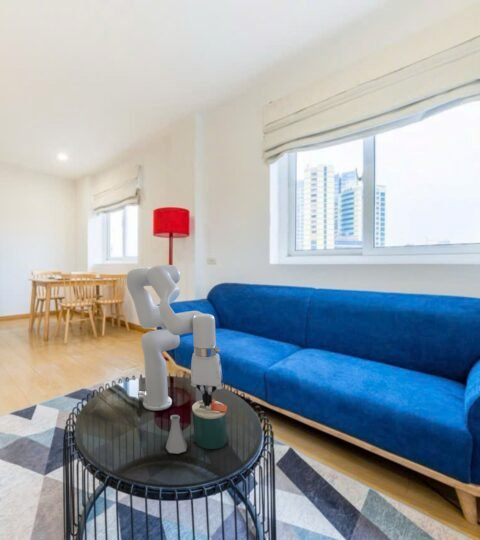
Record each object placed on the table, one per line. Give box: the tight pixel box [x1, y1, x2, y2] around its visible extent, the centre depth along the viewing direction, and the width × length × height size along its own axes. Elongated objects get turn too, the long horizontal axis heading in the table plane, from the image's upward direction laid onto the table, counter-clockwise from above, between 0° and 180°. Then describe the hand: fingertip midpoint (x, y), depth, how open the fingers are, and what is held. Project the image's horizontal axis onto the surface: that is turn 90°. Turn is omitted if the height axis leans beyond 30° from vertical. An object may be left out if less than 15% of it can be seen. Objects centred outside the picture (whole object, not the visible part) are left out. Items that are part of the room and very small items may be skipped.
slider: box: [211, 398, 228, 414], centre depth 97 cm, size 5×4×2 cm
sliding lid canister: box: [191, 399, 228, 450], centre depth 98 cm, size 11×11×11 cm
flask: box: [165, 414, 188, 455], centre depth 94 cm, size 7×7×10 cm
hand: (207, 404), depth 98 cm, fingers closed
